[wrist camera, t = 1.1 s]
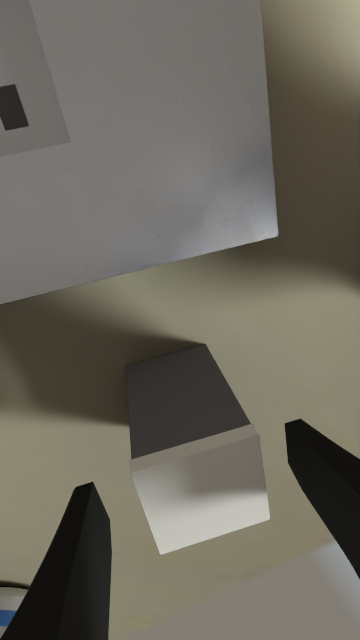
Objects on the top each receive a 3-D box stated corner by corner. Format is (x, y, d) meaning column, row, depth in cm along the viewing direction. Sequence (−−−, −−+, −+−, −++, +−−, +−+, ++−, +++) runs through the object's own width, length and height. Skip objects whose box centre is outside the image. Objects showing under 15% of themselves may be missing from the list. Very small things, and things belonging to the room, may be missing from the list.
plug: (206, 342, 16) (259, 434, 10) (218, 408, 18) (270, 519, 12) (124, 364, 16) (130, 472, 10) (145, 429, 17) (160, 554, 12)
